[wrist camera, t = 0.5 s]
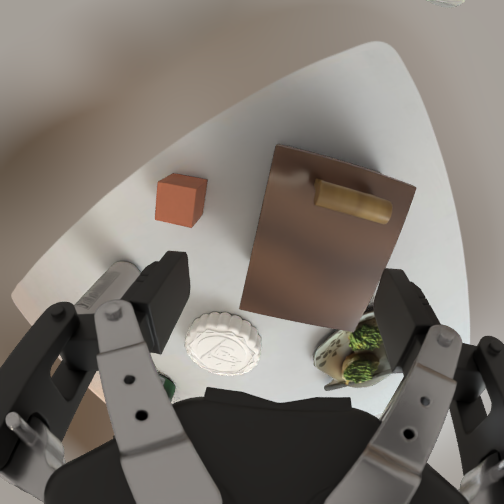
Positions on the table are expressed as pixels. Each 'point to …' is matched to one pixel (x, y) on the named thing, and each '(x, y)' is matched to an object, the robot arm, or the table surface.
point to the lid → (322, 239)
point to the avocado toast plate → (354, 356)
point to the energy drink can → (108, 287)
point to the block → (180, 199)
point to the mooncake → (223, 344)
